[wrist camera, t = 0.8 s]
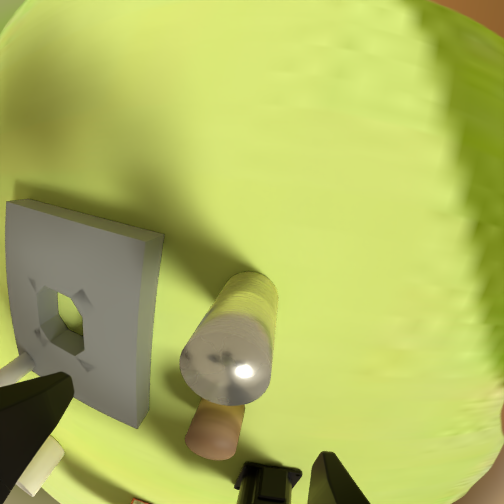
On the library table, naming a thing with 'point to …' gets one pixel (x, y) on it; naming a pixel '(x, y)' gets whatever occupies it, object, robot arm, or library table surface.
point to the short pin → (215, 430)
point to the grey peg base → (83, 303)
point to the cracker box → (138, 501)
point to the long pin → (234, 343)
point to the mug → (41, 466)
